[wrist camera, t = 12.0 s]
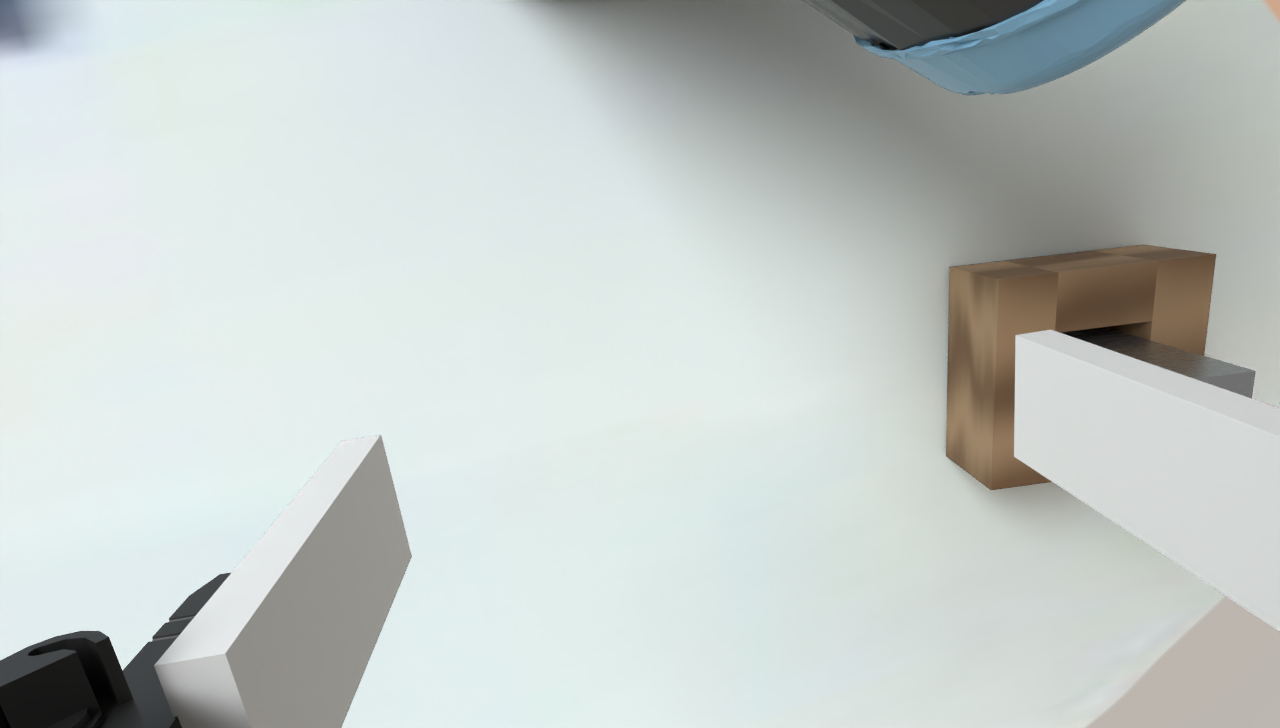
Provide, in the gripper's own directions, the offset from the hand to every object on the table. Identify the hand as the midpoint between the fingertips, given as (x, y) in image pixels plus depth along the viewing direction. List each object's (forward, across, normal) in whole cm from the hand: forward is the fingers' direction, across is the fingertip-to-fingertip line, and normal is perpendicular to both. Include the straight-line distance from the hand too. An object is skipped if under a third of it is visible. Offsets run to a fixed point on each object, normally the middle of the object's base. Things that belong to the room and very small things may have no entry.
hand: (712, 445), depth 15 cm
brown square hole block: (+27, +25, -9) cm, 37 cm away
